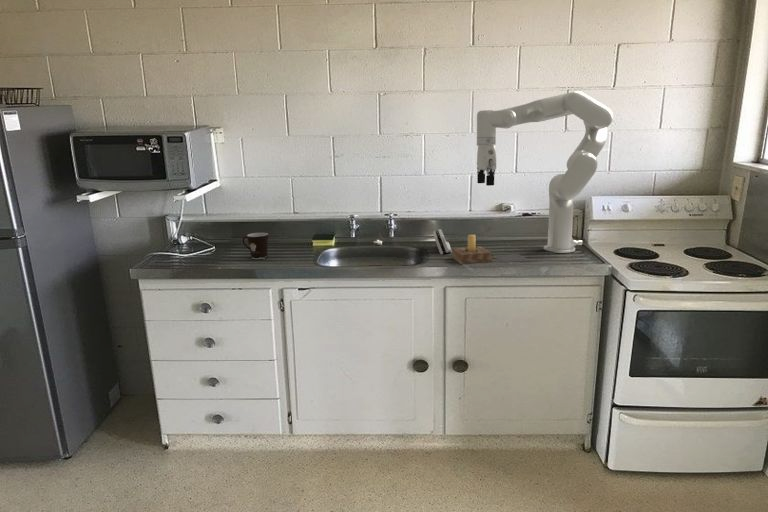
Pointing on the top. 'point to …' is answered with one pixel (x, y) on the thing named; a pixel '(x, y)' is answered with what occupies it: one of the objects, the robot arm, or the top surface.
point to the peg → (471, 243)
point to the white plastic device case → (441, 242)
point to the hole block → (471, 255)
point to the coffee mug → (257, 244)
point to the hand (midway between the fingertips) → (485, 184)
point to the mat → (509, 258)
